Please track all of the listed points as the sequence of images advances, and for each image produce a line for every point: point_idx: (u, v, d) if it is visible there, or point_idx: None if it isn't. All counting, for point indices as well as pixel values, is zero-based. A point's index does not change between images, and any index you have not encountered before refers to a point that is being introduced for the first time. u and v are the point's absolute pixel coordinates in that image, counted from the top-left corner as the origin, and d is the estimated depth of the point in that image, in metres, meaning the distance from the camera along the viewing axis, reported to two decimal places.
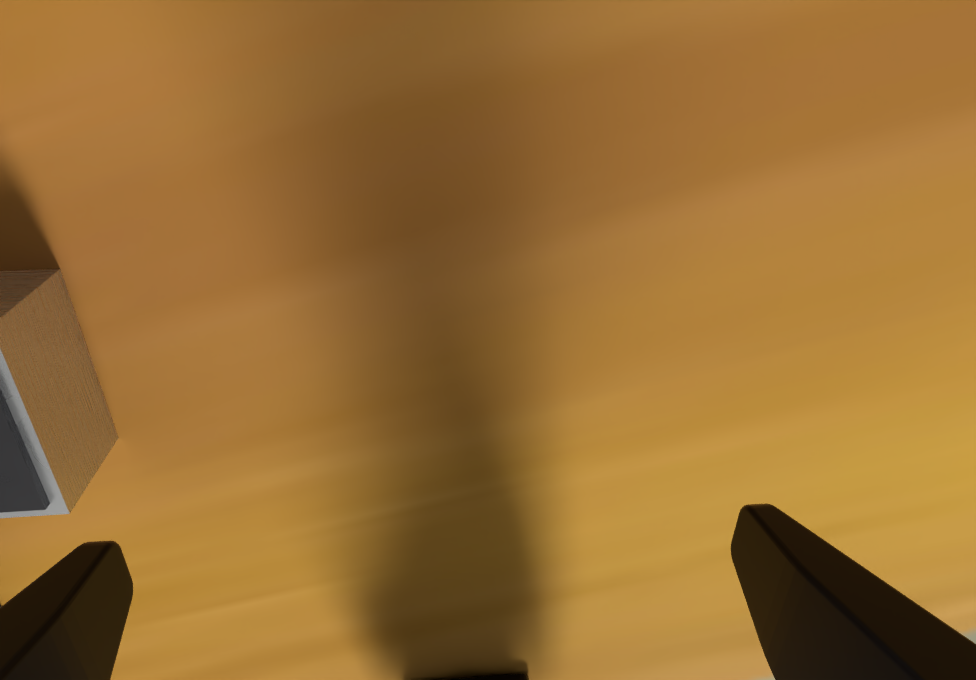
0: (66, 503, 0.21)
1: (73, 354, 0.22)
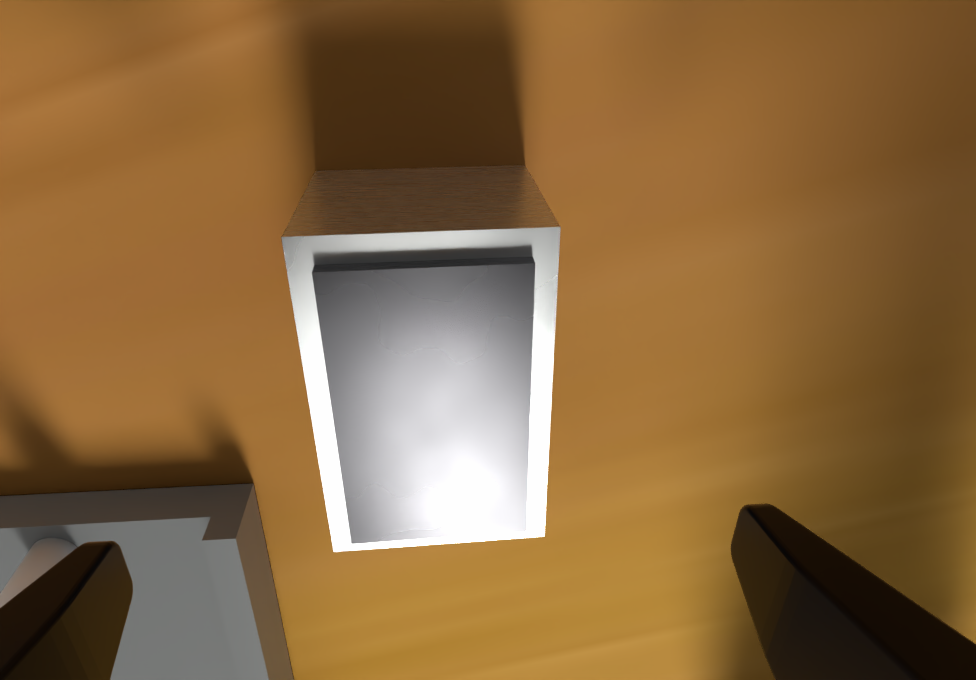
0: (542, 520, 0.14)
1: None
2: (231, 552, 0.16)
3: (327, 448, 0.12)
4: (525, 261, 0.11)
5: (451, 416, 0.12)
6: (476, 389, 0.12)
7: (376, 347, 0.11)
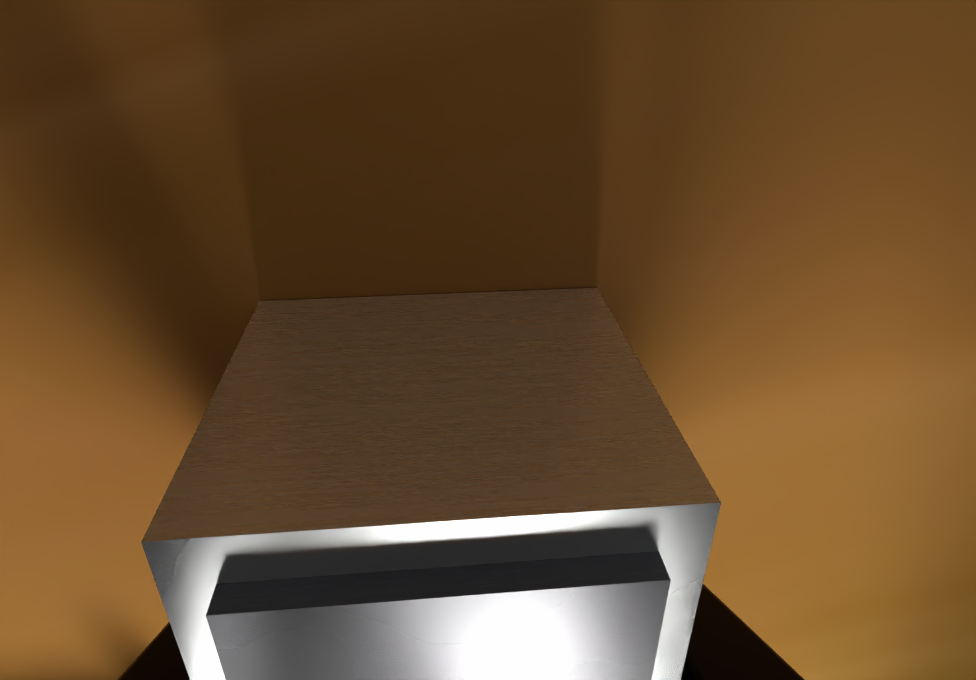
0: None
1: None
2: None
3: None
4: (648, 570, 0.05)
5: None
6: None
7: None
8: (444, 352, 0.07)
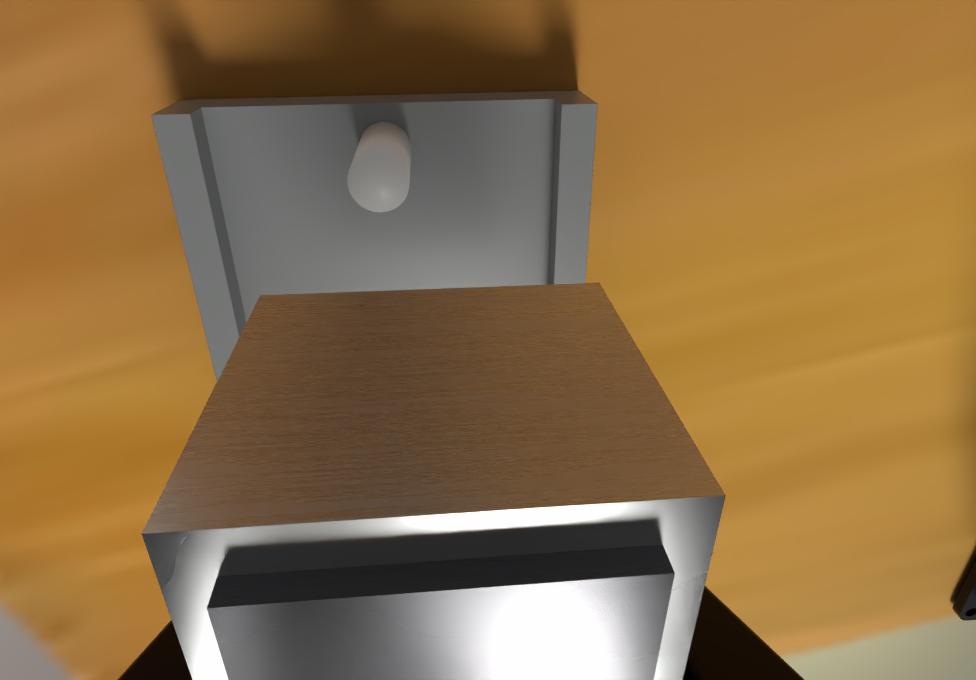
0: None
1: None
2: (588, 125, 0.15)
3: None
4: (651, 563, 0.05)
5: None
6: None
7: None
8: (446, 346, 0.07)
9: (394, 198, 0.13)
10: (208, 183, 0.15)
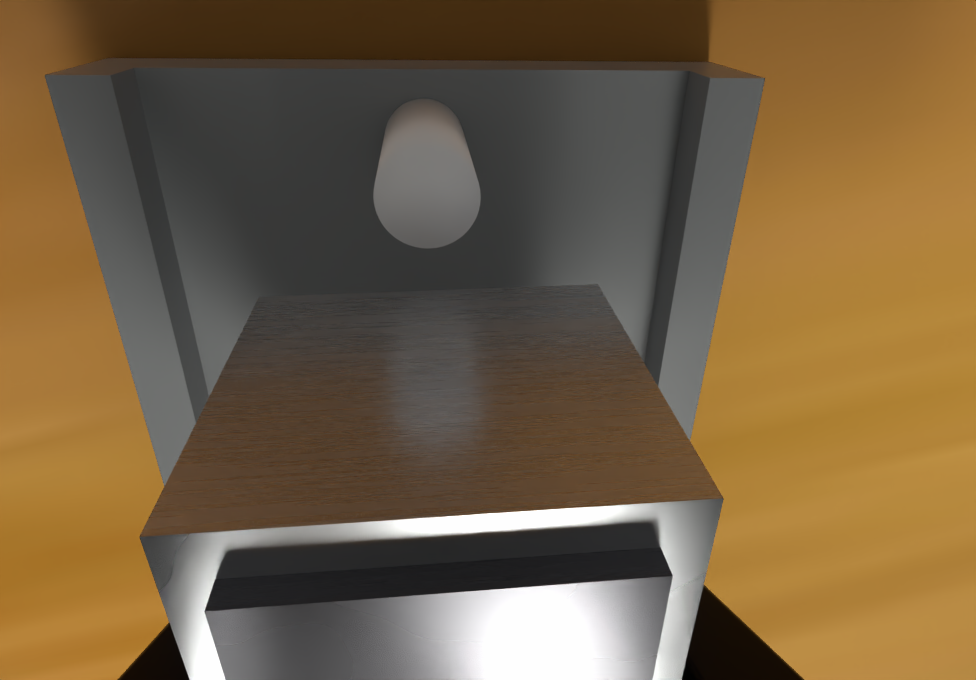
0: None
1: None
2: (746, 112, 0.09)
3: None
4: (650, 566, 0.05)
5: None
6: None
7: None
8: (444, 348, 0.07)
9: (453, 225, 0.08)
10: (144, 189, 0.09)
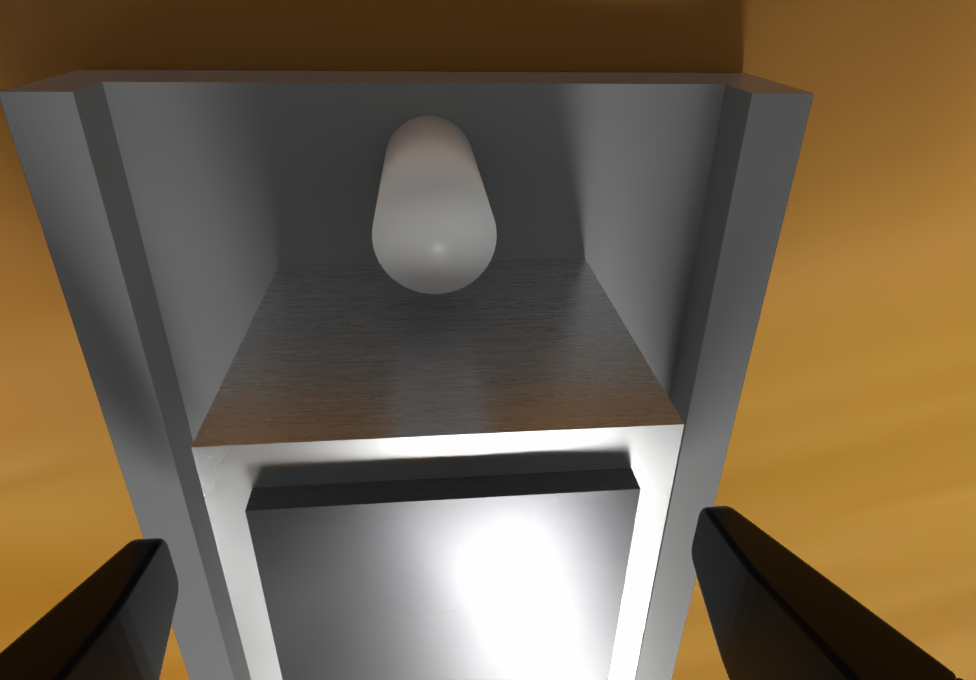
0: None
1: None
2: (791, 131, 0.08)
3: None
4: (621, 481, 0.06)
5: None
6: (524, 661, 0.07)
7: (360, 612, 0.07)
8: (446, 308, 0.08)
9: (464, 268, 0.07)
10: (115, 218, 0.08)
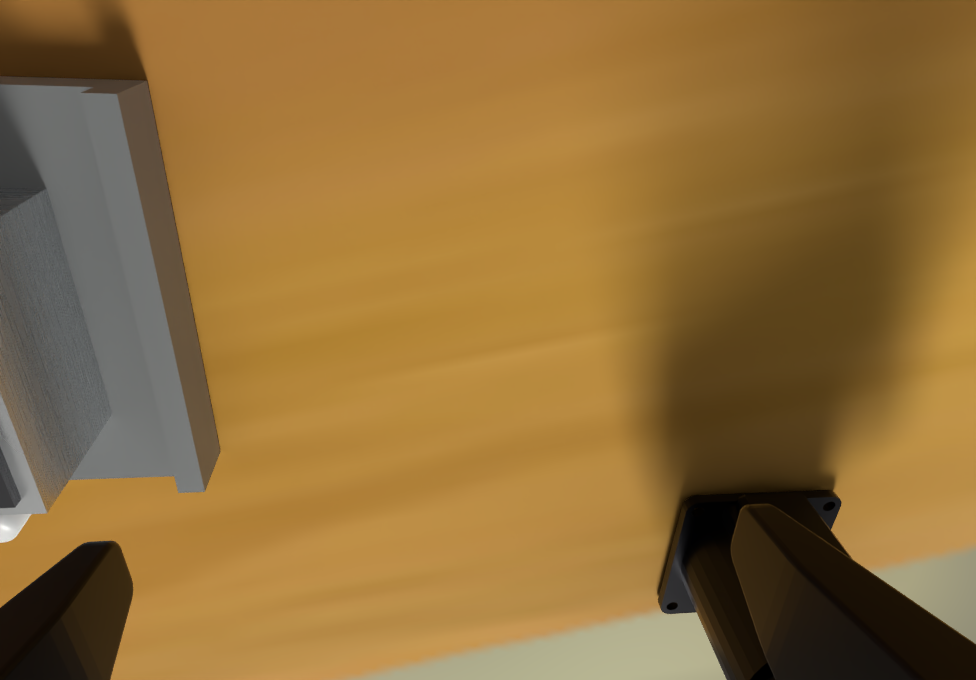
0: (43, 499, 0.16)
1: (58, 304, 0.17)
2: (113, 114, 0.15)
3: None
4: None
5: None
6: None
7: None
8: None
9: None
10: None
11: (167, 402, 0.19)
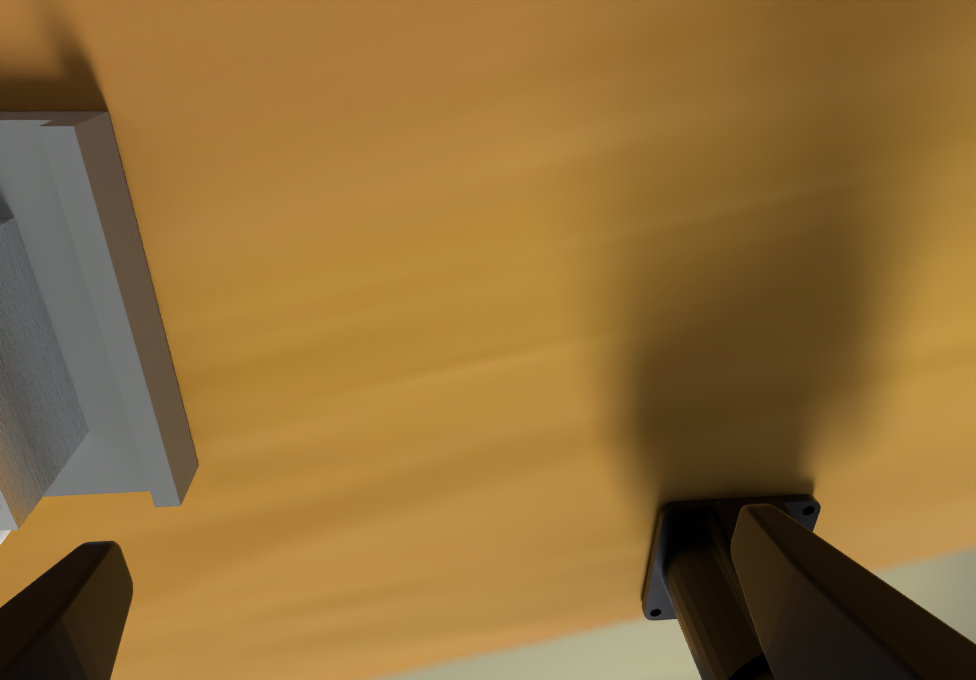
0: (14, 516, 0.17)
1: (28, 327, 0.18)
2: (71, 145, 0.16)
3: None
4: None
5: None
6: None
7: None
8: None
9: None
10: None
11: (139, 419, 0.20)
